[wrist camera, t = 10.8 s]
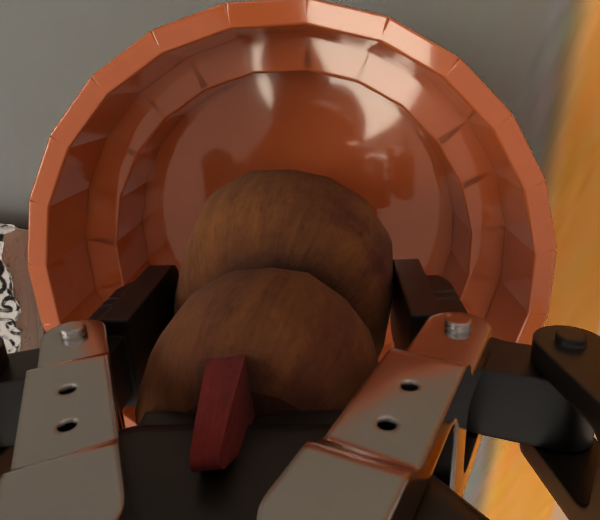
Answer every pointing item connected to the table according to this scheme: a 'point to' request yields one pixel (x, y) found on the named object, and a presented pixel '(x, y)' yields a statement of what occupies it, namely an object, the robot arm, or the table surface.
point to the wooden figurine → (271, 309)
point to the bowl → (291, 155)
